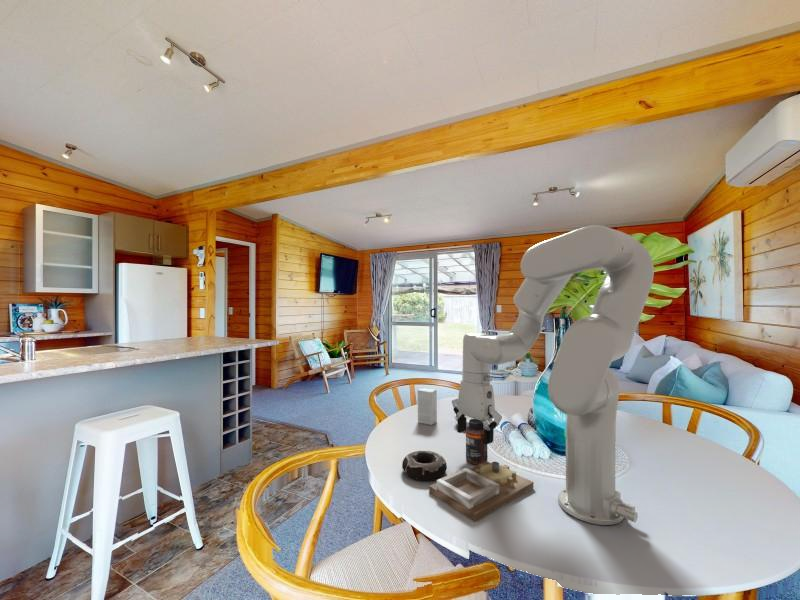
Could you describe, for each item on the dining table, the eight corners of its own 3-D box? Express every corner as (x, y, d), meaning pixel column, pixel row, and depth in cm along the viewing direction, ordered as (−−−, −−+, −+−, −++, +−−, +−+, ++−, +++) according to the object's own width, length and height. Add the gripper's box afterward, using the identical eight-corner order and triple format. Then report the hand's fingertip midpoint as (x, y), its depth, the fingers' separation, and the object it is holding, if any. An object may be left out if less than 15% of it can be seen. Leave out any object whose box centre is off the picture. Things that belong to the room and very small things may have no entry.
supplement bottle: (485, 456, 103) (485, 417, 103) (489, 466, 97) (489, 424, 97) (464, 455, 103) (464, 416, 103) (466, 465, 97) (466, 424, 97)
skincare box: (437, 422, 132) (437, 389, 132) (431, 425, 128) (431, 392, 128) (422, 419, 135) (422, 387, 135) (417, 422, 131) (417, 390, 131)
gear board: (533, 488, 86) (533, 467, 86) (475, 521, 73) (475, 497, 73) (486, 466, 97) (486, 448, 97) (429, 492, 84) (429, 471, 84)
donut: (400, 463, 99) (400, 449, 99) (442, 461, 100) (442, 447, 100) (404, 485, 88) (404, 468, 88) (451, 483, 88) (451, 467, 88)
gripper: (510, 381, 96) (508, 444, 96) (462, 369, 109) (461, 425, 110) (492, 385, 91) (490, 451, 91) (444, 372, 105) (443, 430, 105)
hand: (474, 437), depth 101 cm, fingers open, 9 cm apart
